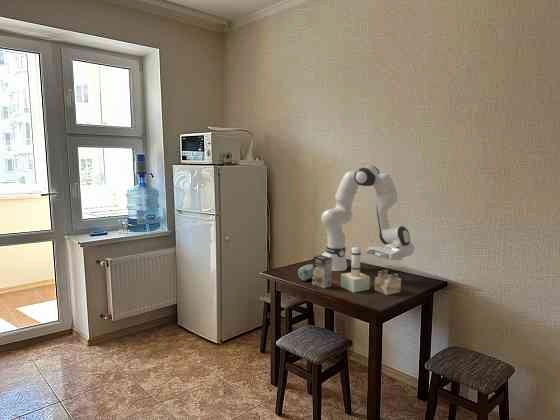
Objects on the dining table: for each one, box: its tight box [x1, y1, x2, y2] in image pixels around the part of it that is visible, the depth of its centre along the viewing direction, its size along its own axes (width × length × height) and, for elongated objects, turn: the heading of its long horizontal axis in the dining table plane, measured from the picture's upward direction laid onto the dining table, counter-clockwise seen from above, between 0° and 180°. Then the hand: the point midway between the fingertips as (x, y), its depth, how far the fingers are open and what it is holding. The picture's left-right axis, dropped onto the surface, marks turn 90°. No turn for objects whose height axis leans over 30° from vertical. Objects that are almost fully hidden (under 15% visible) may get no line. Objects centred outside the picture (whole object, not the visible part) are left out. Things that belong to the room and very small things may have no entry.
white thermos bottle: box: [350, 246, 362, 277], centre depth 209 cm, size 5×5×15 cm
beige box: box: [340, 272, 371, 293], centre depth 211 cm, size 11×11×7 cm
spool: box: [297, 263, 313, 282], centre depth 226 cm, size 14×10×10 cm
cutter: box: [331, 279, 342, 288], centre depth 214 cm, size 14×6×1 cm, turn 50°
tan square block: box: [373, 269, 402, 296], centre depth 206 cm, size 9×10×10 cm
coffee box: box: [311, 254, 333, 289], centre depth 214 cm, size 9×6×16 cm
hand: (372, 254), depth 215 cm, fingers open, 8 cm apart
